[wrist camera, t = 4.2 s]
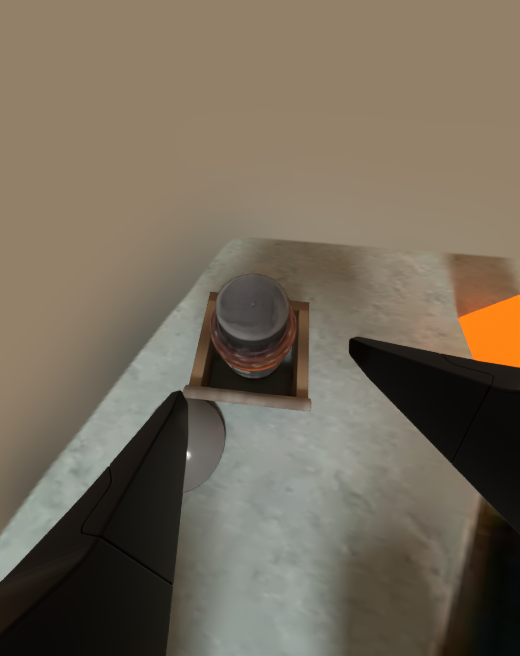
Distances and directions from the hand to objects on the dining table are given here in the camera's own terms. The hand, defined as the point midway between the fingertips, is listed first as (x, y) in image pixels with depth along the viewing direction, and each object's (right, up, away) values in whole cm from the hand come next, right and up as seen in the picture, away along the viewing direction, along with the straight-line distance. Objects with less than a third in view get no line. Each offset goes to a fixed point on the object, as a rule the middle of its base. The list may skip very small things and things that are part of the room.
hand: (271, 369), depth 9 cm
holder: (-1, -1, +11) cm, 11 cm away
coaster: (-8, -8, +8) cm, 14 cm away
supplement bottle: (-1, -1, +11) cm, 11 cm away
